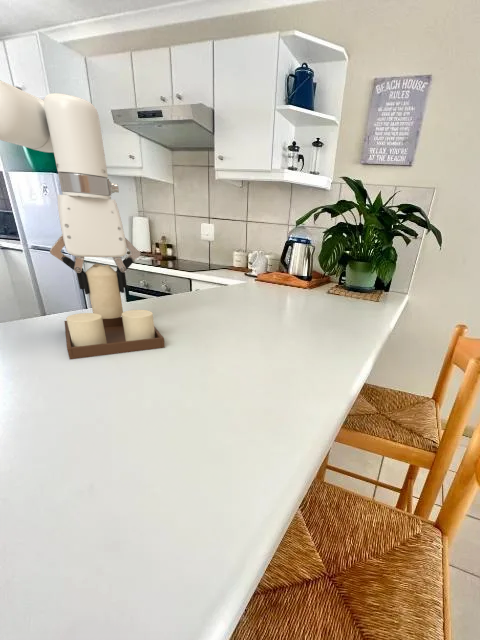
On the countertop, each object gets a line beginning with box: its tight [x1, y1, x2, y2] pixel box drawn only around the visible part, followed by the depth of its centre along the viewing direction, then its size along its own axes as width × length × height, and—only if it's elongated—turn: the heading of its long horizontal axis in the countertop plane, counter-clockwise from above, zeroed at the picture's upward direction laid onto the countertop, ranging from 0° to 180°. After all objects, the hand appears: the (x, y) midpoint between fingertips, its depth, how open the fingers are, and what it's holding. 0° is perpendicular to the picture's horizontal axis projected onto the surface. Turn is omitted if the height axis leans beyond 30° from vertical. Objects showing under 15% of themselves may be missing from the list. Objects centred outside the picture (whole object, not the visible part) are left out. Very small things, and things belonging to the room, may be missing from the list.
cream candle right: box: [121, 309, 155, 341], centre depth 65 cm, size 6×6×6 cm
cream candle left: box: [65, 312, 107, 347], centre depth 60 cm, size 6×6×6 cm
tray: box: [63, 316, 166, 360], centre depth 67 cm, size 16×17×3 cm
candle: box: [85, 263, 124, 319], centre depth 65 cm, size 6×6×10 cm
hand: (104, 291), depth 65 cm, fingers closed on candle, 5 cm apart
